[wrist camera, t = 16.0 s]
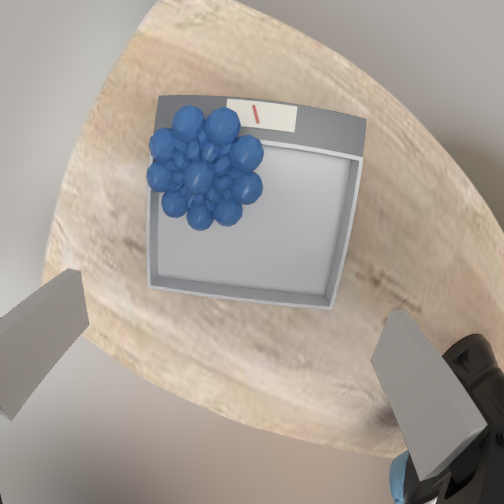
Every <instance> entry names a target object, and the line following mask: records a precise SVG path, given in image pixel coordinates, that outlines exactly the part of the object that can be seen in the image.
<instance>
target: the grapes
mask: <svg viewBox="0 0 504 504" xmlns="http://www.w3.org/2000/svg"><path fill="white" fill-rule="evenodd" d="M240 127H241V123H240V120H239V117H238V115H237V113H236V112H235V111H233V110H231V109H229V108H227V107H222V108H218V109H216V110H213V111H212V112H211V113H210V114H209V115H208V116H207V120H206V119H205V116H204V114H203V112H202V110H201V109H199V108H198V107H196V106H193V105H187V106H184V107H182V108H180V109H179V110H178V111H177V112H176V113H175V114H174V116H173V120H172V129H170V128H166V127H165V128H162V129H159V130H157V131H155V133H154V134H153V135H152V136H151V138H150V143H149V148H150V153H151V156H152V157H153V158H154V159H155V160H156V162H154V163H152V164H151V165H150V167H149V168H148V170H147V175H146V177H147V182H148V185H149V187H150V188H151V189H152V190H153V191H155V192H161V193H163V192H165V193H164V194H163V196H162V201H161V204H162V208H163V211H164V213H165V214H166V215H167V216H169V217H171V218H179V217H181V216H183V215H184V214H185V213H186V212H187V216H186V218H187V222H188V224H189V225H190V227H191V228H193V229H194V230H197V231H203V230H206V229H208V228H209V227H210V226H211V225H212V223H213V222H214V219H215V220H216V221H217V222H218V223H219V224H220V225H221V226H227V227H230V226H232V225H235V224H236V223H237V222H238V221H239V220H240V218H241V217H242V213H243V208H242V204H243V205H250V204H252V203H255V202H256V201H257V199H258V198H259V197H260V196H261V195H262V191H263V184H262V180H261V178H260V176H259V175H258V174H257V173H255V172H253V171H254V170H255V169H256V168H257V167H258V166H259V165H260V163H261V162H262V160H263V156H264V150H263V147H262V144H261V142H260V140H259V139H257V138H256V137H254V136H252V135H244V136H240V137H238V134H239V131H240Z"/></svg>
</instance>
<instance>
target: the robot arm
mask: <svg viewBox="0 0 504 504" xmlns="http://www.w3.org/2000/svg"><path fill="white" fill-rule="evenodd" d="M89 325H90V324H89V319H88V314H87V309H86V303H85V297H84V291H83V285H82V277H81V271H78V270H73V269H66V270H65V271H63V272H62V273H61V274H59V275H58V276H56V277H55V278H53V279H52V280H51V281H49V282H48V283H46V284H45V285H44V286H42V287H41V288H39V289H38V290H37V291H35V292H34V293H33V294H31V295H30V296H29V297H27V298H26V299H25V300H23V301H22V302H21V303H20V304H18V305H17V306H16V307H15V308H13V309H12V310H11V311H9V312H8V313H7V314H6V315H4V316H3V317H1V318H0V414H1V415H3V416H4V417H5V418H7V419H8V420H10V421H12V420H13V418H14V417H15V416H16V414H17V413H18V412H19V410H20V409H21V407H22V406H23V404H24V403H25V402H26V401H27V399H28V398H29V397H30V395H31V394H32V393H33V391H34V390H35V389H36V388H37V386H38V385H39V384H40V383H41V381H42V380H43V379H44V377H45V376H46V375H47V374H48V373H49V371H50V370H51V369H52V368H53V366H54V365H55V364H56V363H57V361H58V360H59V359H60V358H61V357H62V356H63V354H64V353H65V352H66V351H67V350H68V348H69V347H70V346H71V345H72V344H73V343H74V341H75V340H76V339H77V338H78V337H79V336H80V335H81V334H82V332H83V331H84V330H85V329H86V328H87V327H88V326H89ZM370 361H371V363H372V365H373V367H374V369H375V372H376V374H377V376H378V378H379V380H380V383H381V385H382V387H383V389H384V392H385V394H386V396H387V398H388V401H389V403H390V405H391V408H392V410H393V413H394V415H395V417H396V420H397V422H398V425H399V427H400V430H401V432H402V435H403V437H404V440H405V442H406V445H407V447H408V450H407V451H405V452H404V453H402V454H400V455H399V456H397V457H396V458H395V459H394V460H393V462H392V464H391V467H390V472H389V480H390V489H391V494H392V497H393V499H394V502H395V504H504V373H503V372H502V371H501V369H500V368H499V367H498V365H497V362H496V359H495V356H494V353H493V351H492V348H491V345H490V343H489V342H488V341H487V340H486V339H485V338H484V337H483V336H482V335H479V334H475V335H471V336H468V337H466V338H464V339H462V340H461V341H459V342H458V343H457V344H455V345H454V346H453V347H452V348H451V349H449V350H448V351H447V352H446V353H445V355H444V356H443V357H442V356H441V355H440V354H439V352H438V351H437V350H436V348H435V347H434V346H433V344H432V343H431V342H430V340H429V339H428V338H427V336H426V335H425V334H424V333H423V331H422V330H421V329H420V328H419V326H418V325H417V324H416V323H415V321H414V320H413V319H412V318H411V316H410V315H409V314H408V313H407V312H406V310H394V309H391V310H390V313H389V316H388V318H387V321H386V324H385V326H384V329H383V332H382V334H381V337H380V339H379V342H378V344H377V346H376V349H375V351H374V354H373V356H372V358H371V360H370ZM0 504H3V503H2V499H1V495H0Z"/></svg>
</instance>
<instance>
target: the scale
mask: <svg viewBox="0 0 504 504" xmlns="http://www.w3.org/2000/svg"><path fill="white" fill-rule="evenodd" d="M187 105H193V106H196V107H198V108H199V109H201V110H202V112H203V114H204V116H205V119H206V120H207V116H208V115H209V114H210V113H211V112H212V111H213V110H216V109H218V108H222V107H227V108H229V109H231V110H233V111H235V112H236V113H237V115H238V117H239V120H240V123H241V127H240V131H239V134H238V137H240V136H244V135H252V136H254V137H256V138H257V139H259V140H260V142H261V144H262V147H263V150H264V156H263V160H262V162H261V163H260V165H259V166H258V167H257V168H256V169H255V170H254V171H253V172H255V173H257V174H258V175H259V176H260V178H261V180H262V184H263V191H262V195H261V196H260V197H259V198H258V199H257V201H256V202H255V203H252V204H250V205H243V204H242V208H243V213H242V217H241V218H240V220H239V221H238V222H237V223H236V224H235V225H232V226H230V227H227V226H221V225H220V224H219V223H218V222H217V221H216V220H215V219H214V222H213V223H212V225H211V226H210V227H209V228H208V229H206V230H203V231H197V230H194V229H193V228H191V227H190V225H189V224H188V222H187V218H186V216H187V212H186V213H185V214H184V215H183V216H181V217H179V218H171V217H169V216H167V215H166V214H165V213H164V211H163V208H162V204H161V201H162V196H163V194H164V193H165V192H163V193H161V192H155V191H153V190H152V189H151V188H150V187H149V185H148V183H147V208H146V266H147V288H151V289H157V290H163V291H170V292H176V293H183V294H190V295H197V296H204V297H211V298H219V299H226V300H234V301H243V302H251V303H260V304H269V305H279V306H289V307H300V308H311V309H323V310H332V309H333V306H334V302H335V298H336V294H337V291H338V287H339V283H340V279H341V275H342V271H343V266H344V262H345V258H346V253H347V249H348V244H349V239H350V235H351V230H352V225H353V220H354V214H355V209H356V203H357V198H358V192H359V185H360V179H361V172H362V166H363V158H364V157H362V155H363V147H364V139H365V130H366V120H367V119H364V118H360V117H356V116H352V115H348V114H344V113H339V112H335V111H330V110H325V109H320V108H315V107H309V106H304V105H298V104H291V103H284V102H277V101H269V100H261V99H251V98H239V97H224V96H199V95H168V96H159V98H158V105H157V112H156V120H155V129H154V133H155V131H157V130H159V129H162V128H165V127H166V128H170V129H172V120H173V116H174V114H175V113H176V112H177V111H178V110H179V109H180V108H182V107H184V106H187ZM154 133H151V136H152V135H153V134H154ZM154 162H156V160H155V159H154V158H153V157H152V156H151V153H150V154H149V167H150V165H151V164H152V163H154ZM149 167H148V168H149Z"/></svg>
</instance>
